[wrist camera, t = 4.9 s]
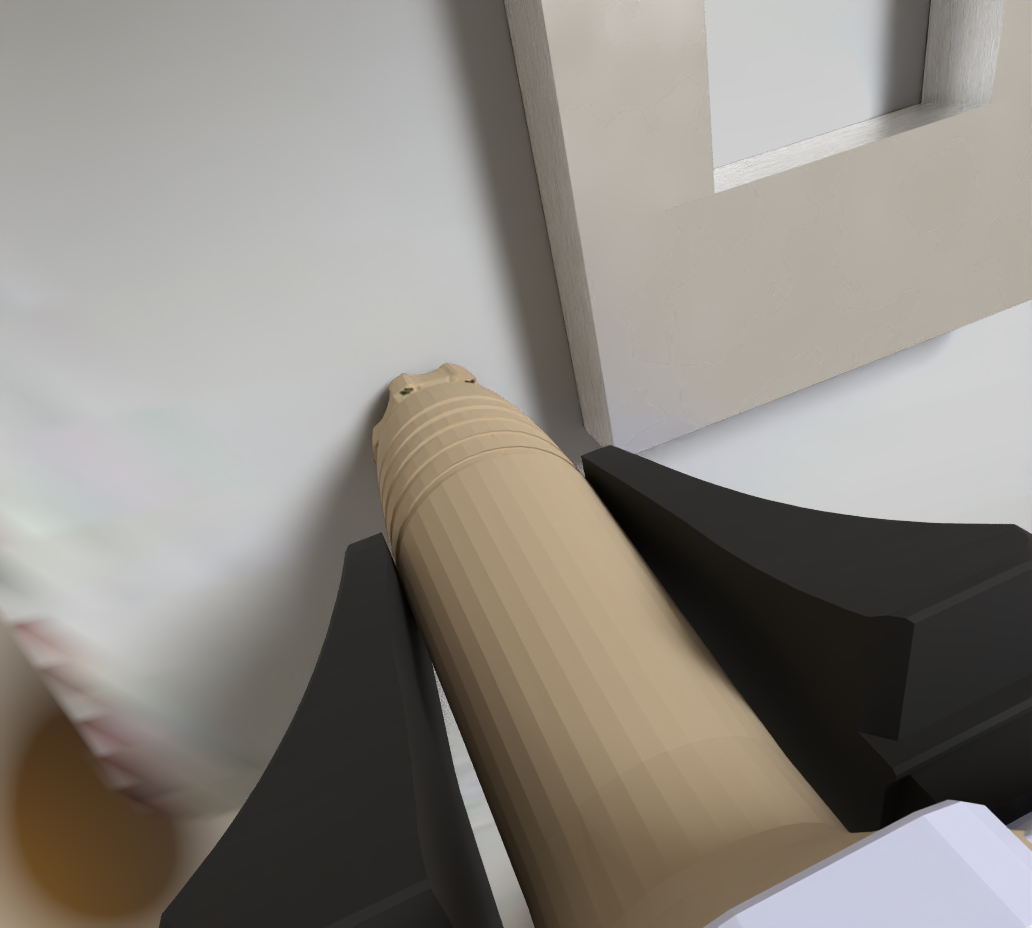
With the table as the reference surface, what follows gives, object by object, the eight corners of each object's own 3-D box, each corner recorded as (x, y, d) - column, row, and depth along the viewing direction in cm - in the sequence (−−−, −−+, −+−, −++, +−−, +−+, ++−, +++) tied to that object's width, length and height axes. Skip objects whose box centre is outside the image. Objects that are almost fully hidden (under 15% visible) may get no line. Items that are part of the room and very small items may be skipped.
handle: (507, 274, 16) (1399, 913, 4) (535, 497, 19) (1047, 1235, 7) (301, 318, 15) (535, 1458, 2) (368, 546, 18) (614, 1526, 6)
